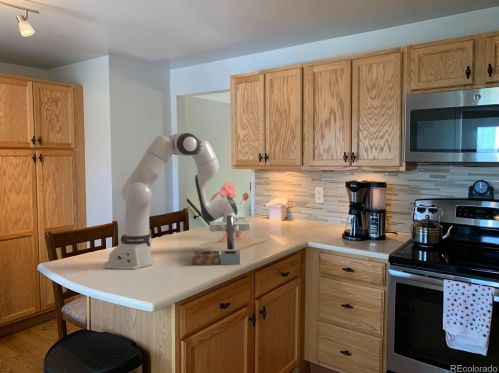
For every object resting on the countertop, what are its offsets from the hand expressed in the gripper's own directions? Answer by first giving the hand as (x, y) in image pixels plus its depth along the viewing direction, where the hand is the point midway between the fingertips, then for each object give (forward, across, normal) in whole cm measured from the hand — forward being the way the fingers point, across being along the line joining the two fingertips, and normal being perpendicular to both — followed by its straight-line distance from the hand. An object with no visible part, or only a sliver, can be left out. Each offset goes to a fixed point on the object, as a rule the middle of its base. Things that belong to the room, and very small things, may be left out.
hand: (230, 229), depth 181 cm
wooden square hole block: (-1, -12, +16) cm, 20 cm away
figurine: (-51, -2, +16) cm, 54 cm away
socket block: (-1, 0, +16) cm, 16 cm away
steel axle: (-1, 0, +10) cm, 10 cm away
